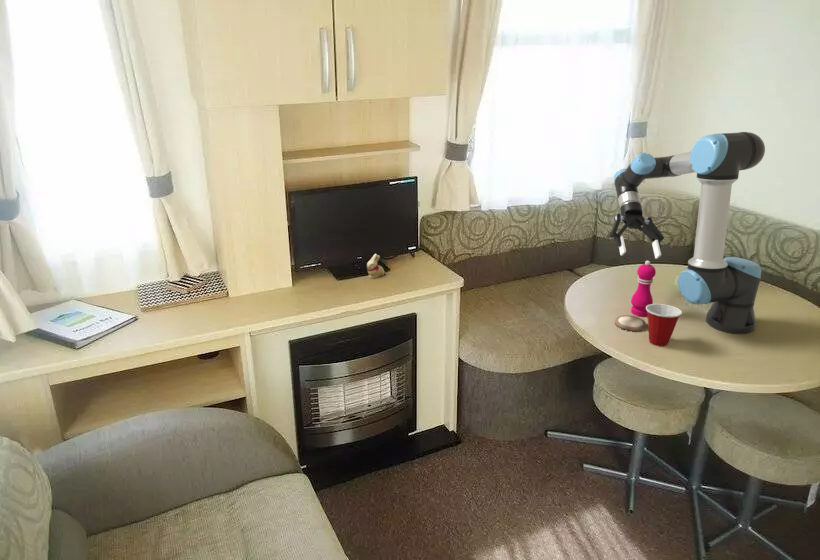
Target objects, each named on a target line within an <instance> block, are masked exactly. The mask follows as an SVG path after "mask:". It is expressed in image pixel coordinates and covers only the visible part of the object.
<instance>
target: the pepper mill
mask: <svg viewBox="0 0 820 560" xmlns="http://www.w3.org/2000/svg"><path fill="white" fill-rule="evenodd" d="M636 272H637V273H636V274H637V275H638V276H637V280H636V281H637V282H638V285H637V288H636V290H635V292H634V293H633V295H632V296H631V300H630V303H631V305H632V306H631V307H630V313H631V314H632V315H633V316H635V317H640V318H641V317H643V318H644V317H648V314H647V310H646V306H648V305H650V304H654V301H653V296H652V294H651V285H652V284H653V281H654V279H653V278H654V277H655V276H656V272H657V271H656V268H655V267H654V266H653V265H651V261H650V260H645V262H644V264H641V265H639V266H638V268H637V271H636Z"/></svg>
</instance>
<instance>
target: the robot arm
mask: <svg viewBox="0 0 820 560" xmlns="http://www.w3.org/2000/svg"><path fill="white" fill-rule="evenodd" d="M765 153H766V147H765V142H764V140H763V139H762V138H761V137H760V136H759V135H757V134H756V133H753V132H749V131H739V132H725V133H713V134H707V135H704V136H702V137H700V138H699V139H698V140H697V141H695V143H694V145H693V146H692V148H691V151H687V152H682V153H679V154H673V155H668V156H660V157H659V156H658V157H654V156H653V155H652V154H650V153H646V152H640V153H639V154H637V155H636V157H635V158H633V160H631V162H630V163H629V164H628V167H626V168H621V169H620V170H618V171H617V172H615V174H614V176H613V180H614V181H613V182H614V187H615V192H616V196H617V197H616V198H617V201H618V206H619V210H620V211H619V212H620V213H617V214H616V215H615V217H613V218H614V223H613V226H612V229H611V230H610V233H609V237H610V238H613V241H615V243H616V246H617V247H618V249H619V250H618V251H619V254H620V256H624V255H625V254H626V252H627V248H626V244H625V239H624V236H623V235H622V234H623V233H624V232H625V231H626V230H627V228H629V229H631V230H632V229H633V230H639V231H640V232H642V233H643V234H644V235H645V236H646V237H647V238H649V239H650V240H651V241H652V242H651V246H652V250H653V255H654V259H655V260H658V259H659V258H660V257H661V256H662V252H661V249H662V245H661V242H662V241H663V240H664V239H665V236H664V234H662V233H661V231H660V230H659V228H658V227H657V226H656V224H655V223H654V221H653V219H652V217H647V218H644V216H643V215H644V214H643V207H642V203H641V198H640V195H639V189H638V188H639V186H640V185H642V183H643V182H644V181H645V180H650V179H660V178H674V177H679V176H682V175H687V174H692V173H696V179H697V180H698V181H699V182H700V192H699V193H700V194H699V202H698V213H697V223H696V230H695V231H696V232H695V242H694V249H693V250H694V251H693V252H694V253H693V257H691V258H689V259H688V261H687V268H686V269H684V270H682V271H681V272H680V274H679V275H678V277H677V286H678V289H679V292H680V294H681V295H682V297H683V298H684V300H685V301H686V302H688V303H690V304H693V305H708V304H710V303H712V305H711V306H710V308H709V309H708V311H707V313H706V315H705V322H706V323H707V325H709V326H710V327H712V328H713V329H715V330H718V331H721V332H724V333H729V334H736V335H738V334H739V335H745V334H750V333H752V332H754V331H755V328H756V323H757V321H756V315H755V308H754V306H755V302H756V298H757V294H758V290H759V285H760V281H761V278H762V277H761V275H762V271H763V270H762V267H761V266H760V264H759V263H756V262H754V261H752V260H749V259H746V258H743V257H735V256H727V257H724V253H725V245H726V237H727V228H728V220H729V214H730V213H729V211H730V203H731V197H732V196H731V194H732V187H733V184H734V183H735V182H736V181H738V180H739V177H740V176H739V175H740V171H745V170H749V169H752V168H754V167H756V166H757V165H758V164H759V163H761V161H762V160H763V158H764V156H765ZM621 221H622V222H623V223H624V225H623V226H622V228H620V230H619V231H618V229H619V225H620V223H621ZM617 231H618V232H617Z"/></svg>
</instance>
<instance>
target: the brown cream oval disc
mask: <svg viewBox="0 0 820 560" xmlns="http://www.w3.org/2000/svg"><path fill="white" fill-rule="evenodd" d="M614 325H615V326H616V327H617V328H618V327H619V328H618V329H620V328H621V330H622V329H623V330H622V331H625V330H627V331H626V332H631V331H632V333H635V332H636V331H639V332H642V331H644V330H646V326H647V322H646V321H645V320H644V319H643V318H641V317H639V316H636V315H620V316H617V317H615V319H614ZM636 333H637V332H636Z"/></svg>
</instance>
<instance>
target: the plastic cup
mask: <svg viewBox="0 0 820 560" xmlns="http://www.w3.org/2000/svg"><path fill="white" fill-rule="evenodd" d="M646 310H647V314H648V316H647V326H648V327H647V328H648V342H649V343H650V344H651V345H653V346H657V347H666V346H668V344H669V342H670V340H671V337H672V335H673V333H674V330H675V327H676V325H677V322H678V320H679V318H680V317H681V316H682V314H683V311H682V310H681V309H680V308H678V307H677V306H673V305H670V304H663V303H653V304H650V305H648V306H646Z"/></svg>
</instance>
